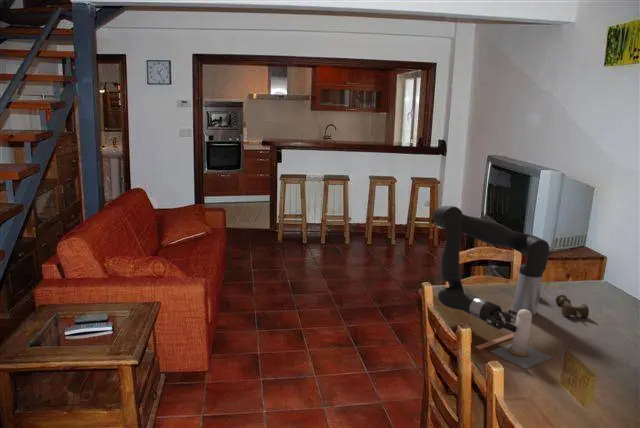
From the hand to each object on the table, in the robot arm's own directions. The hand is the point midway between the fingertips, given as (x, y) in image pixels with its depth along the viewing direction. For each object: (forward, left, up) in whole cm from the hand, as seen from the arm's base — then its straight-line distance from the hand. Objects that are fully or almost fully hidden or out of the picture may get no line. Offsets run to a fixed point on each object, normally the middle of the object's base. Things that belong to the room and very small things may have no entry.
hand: (523, 327), depth 184 cm
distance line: (-1, -10, -10) cm, 14 cm away
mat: (0, +1, -10) cm, 10 cm away
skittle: (0, 0, -10) cm, 10 cm away
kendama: (-55, -12, -11) cm, 57 cm away
